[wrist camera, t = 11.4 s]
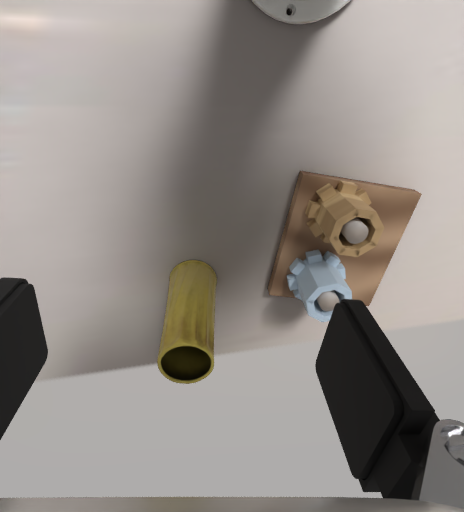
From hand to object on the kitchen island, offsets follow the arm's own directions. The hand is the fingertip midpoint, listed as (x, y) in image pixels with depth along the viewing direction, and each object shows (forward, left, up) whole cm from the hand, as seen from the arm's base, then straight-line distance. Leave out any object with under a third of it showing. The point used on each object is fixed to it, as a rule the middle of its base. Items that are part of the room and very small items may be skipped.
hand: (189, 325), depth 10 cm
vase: (+17, +1, -28) cm, 32 cm away
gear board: (+9, +18, -28) cm, 34 cm away
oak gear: (+4, +16, -26) cm, 31 cm away
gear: (+13, +16, -26) cm, 33 cm away
